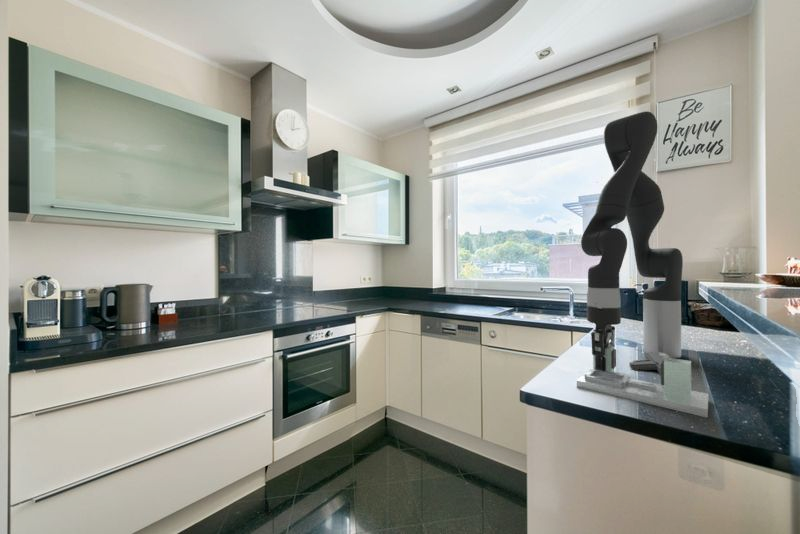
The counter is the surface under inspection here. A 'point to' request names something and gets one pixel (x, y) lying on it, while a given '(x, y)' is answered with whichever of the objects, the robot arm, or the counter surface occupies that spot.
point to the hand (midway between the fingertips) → (603, 367)
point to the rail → (652, 387)
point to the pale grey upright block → (608, 359)
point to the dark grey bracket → (649, 362)
